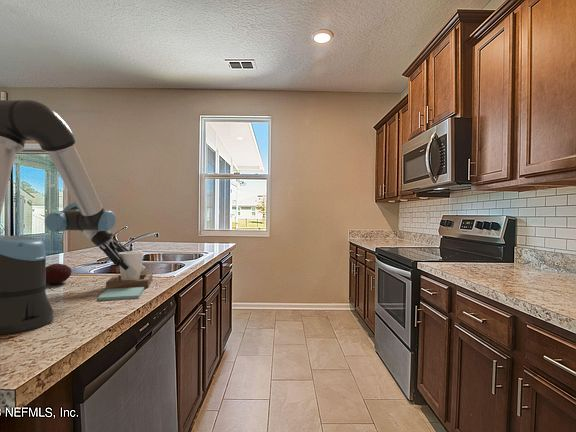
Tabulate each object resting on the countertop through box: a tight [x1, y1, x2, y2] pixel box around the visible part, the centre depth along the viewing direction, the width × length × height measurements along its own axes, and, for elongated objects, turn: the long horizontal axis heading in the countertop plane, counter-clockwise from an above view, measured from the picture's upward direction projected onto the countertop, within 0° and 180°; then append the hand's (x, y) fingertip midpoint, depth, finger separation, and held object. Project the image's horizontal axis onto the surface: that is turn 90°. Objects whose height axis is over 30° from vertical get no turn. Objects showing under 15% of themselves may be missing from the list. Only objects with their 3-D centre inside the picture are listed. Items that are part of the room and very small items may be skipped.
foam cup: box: [119, 250, 144, 280], centre depth 134 cm, size 10×9×13 cm
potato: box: [45, 263, 72, 285], centre depth 135 cm, size 12×11×8 cm
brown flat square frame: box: [105, 272, 154, 290], centre depth 134 cm, size 15×15×3 cm
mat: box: [96, 287, 145, 302], centre depth 118 cm, size 13×13×1 cm
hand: (138, 272), depth 135 cm, fingers closed on foam cup, 9 cm apart
